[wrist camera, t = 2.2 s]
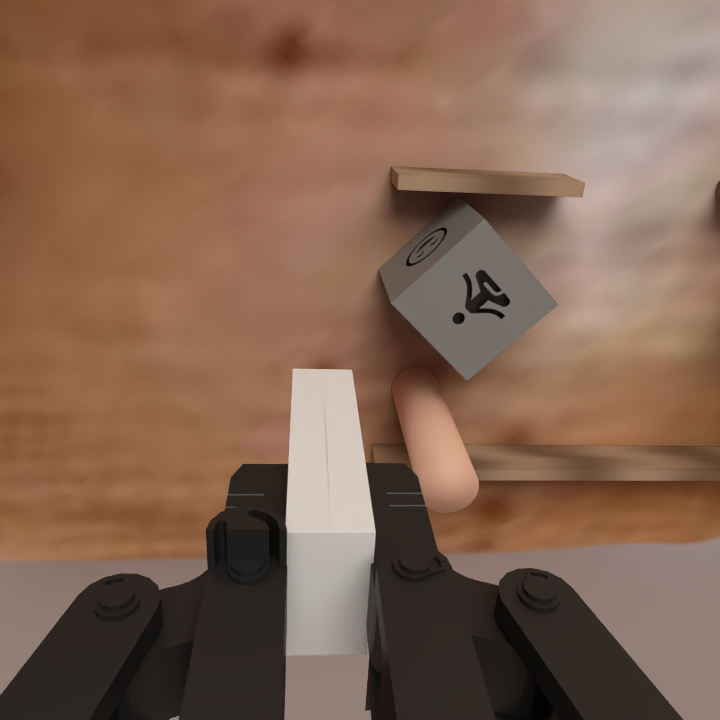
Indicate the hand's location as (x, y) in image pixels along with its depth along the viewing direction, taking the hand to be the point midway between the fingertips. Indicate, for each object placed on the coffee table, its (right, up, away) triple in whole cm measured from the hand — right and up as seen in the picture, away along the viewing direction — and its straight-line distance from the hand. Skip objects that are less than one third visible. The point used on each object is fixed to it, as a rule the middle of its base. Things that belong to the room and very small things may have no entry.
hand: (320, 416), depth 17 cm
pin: (+4, 0, +17) cm, 18 cm away
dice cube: (+5, +6, +15) cm, 17 cm away
